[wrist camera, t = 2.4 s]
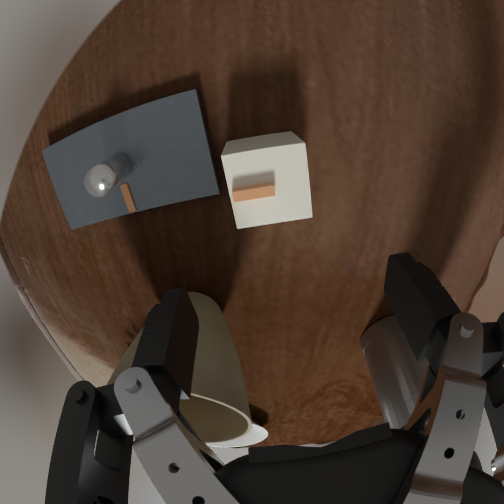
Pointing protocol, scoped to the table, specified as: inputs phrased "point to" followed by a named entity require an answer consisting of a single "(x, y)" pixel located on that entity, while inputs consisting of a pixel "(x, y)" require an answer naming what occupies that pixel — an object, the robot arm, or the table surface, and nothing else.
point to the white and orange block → (267, 179)
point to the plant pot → (210, 378)
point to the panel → (135, 161)
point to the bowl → (245, 438)
